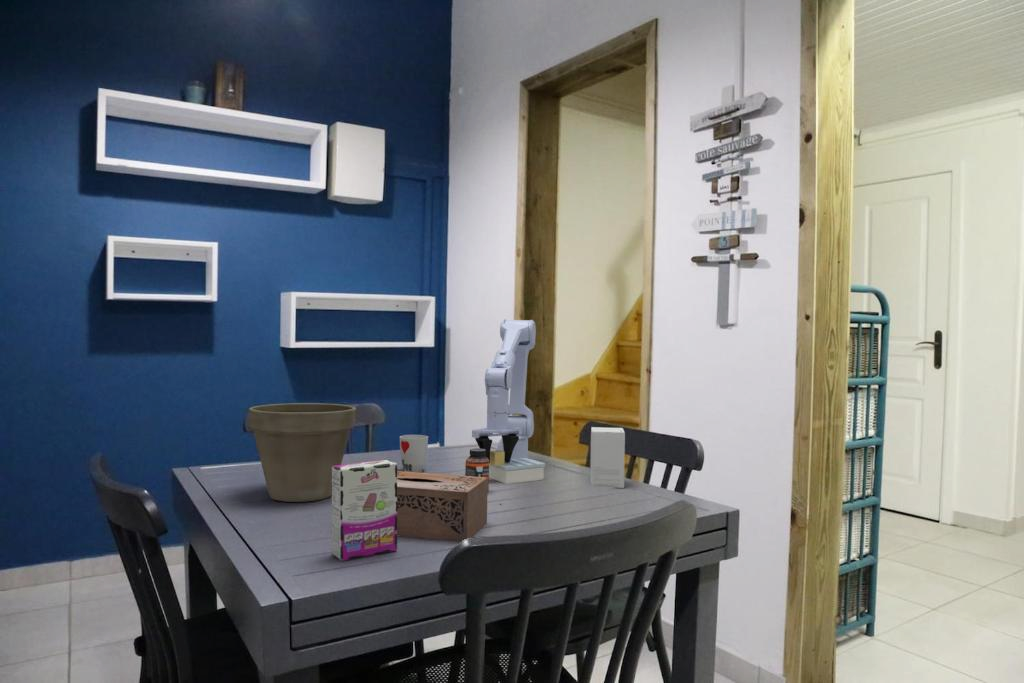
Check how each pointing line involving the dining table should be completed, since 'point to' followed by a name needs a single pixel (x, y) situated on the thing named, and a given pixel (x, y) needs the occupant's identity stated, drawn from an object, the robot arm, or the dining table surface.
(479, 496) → the tissue box cover
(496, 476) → the tub
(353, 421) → the plant pot
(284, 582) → the dining table surface
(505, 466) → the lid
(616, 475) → the supplement box
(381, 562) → the dining table surface
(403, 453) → the cup
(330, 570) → the dining table surface
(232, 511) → the dining table surface
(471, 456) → the supplement bottle
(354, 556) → the candy bar box
